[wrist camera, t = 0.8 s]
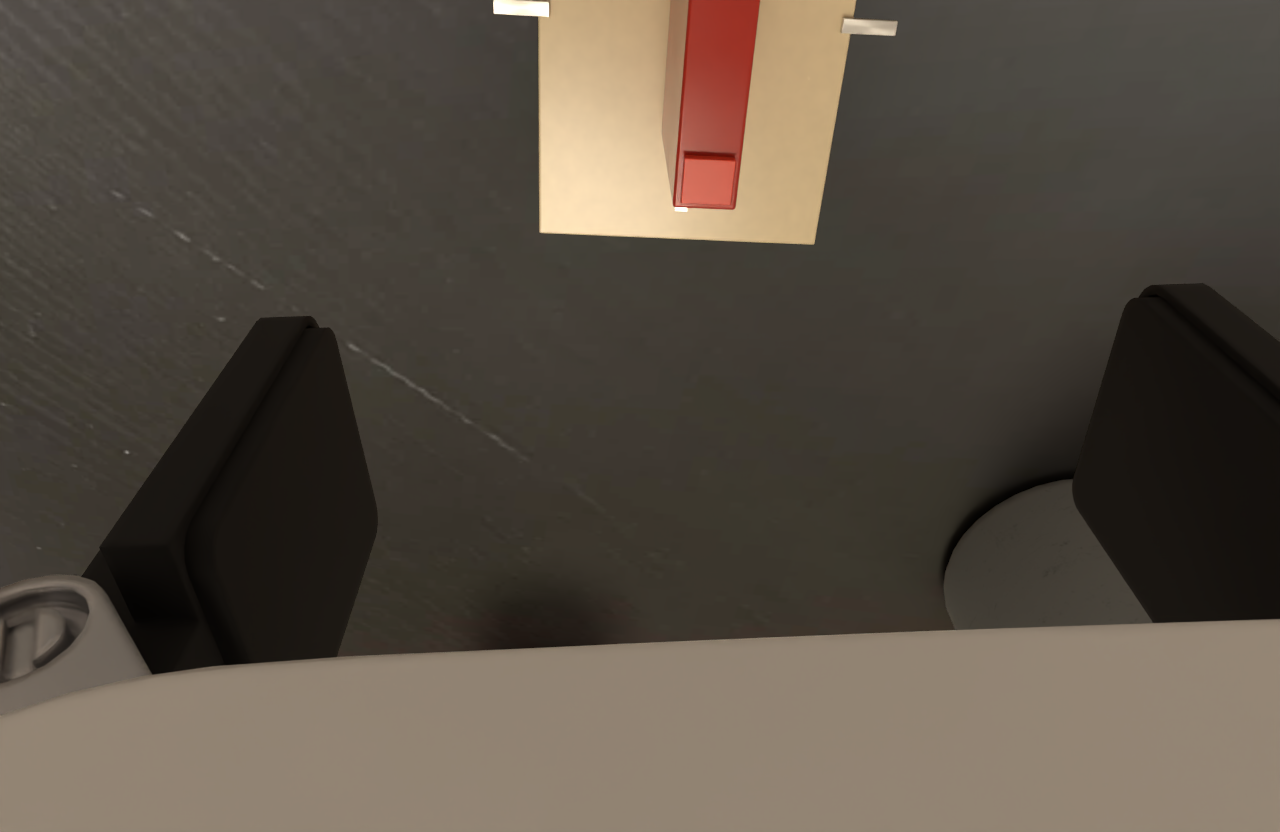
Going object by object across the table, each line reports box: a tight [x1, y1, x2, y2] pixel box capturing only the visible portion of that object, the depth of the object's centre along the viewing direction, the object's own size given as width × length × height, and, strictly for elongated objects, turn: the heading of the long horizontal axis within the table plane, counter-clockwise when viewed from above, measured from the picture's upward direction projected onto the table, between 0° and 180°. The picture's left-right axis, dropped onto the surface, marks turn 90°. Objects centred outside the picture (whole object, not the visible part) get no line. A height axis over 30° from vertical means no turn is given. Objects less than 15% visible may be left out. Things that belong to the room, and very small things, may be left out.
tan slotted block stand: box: [493, 0, 898, 245], centre depth 25 cm, size 12×10×4 cm
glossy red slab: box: [661, 0, 760, 210], centre depth 21 cm, size 6×1×6 cm, turn 177°
